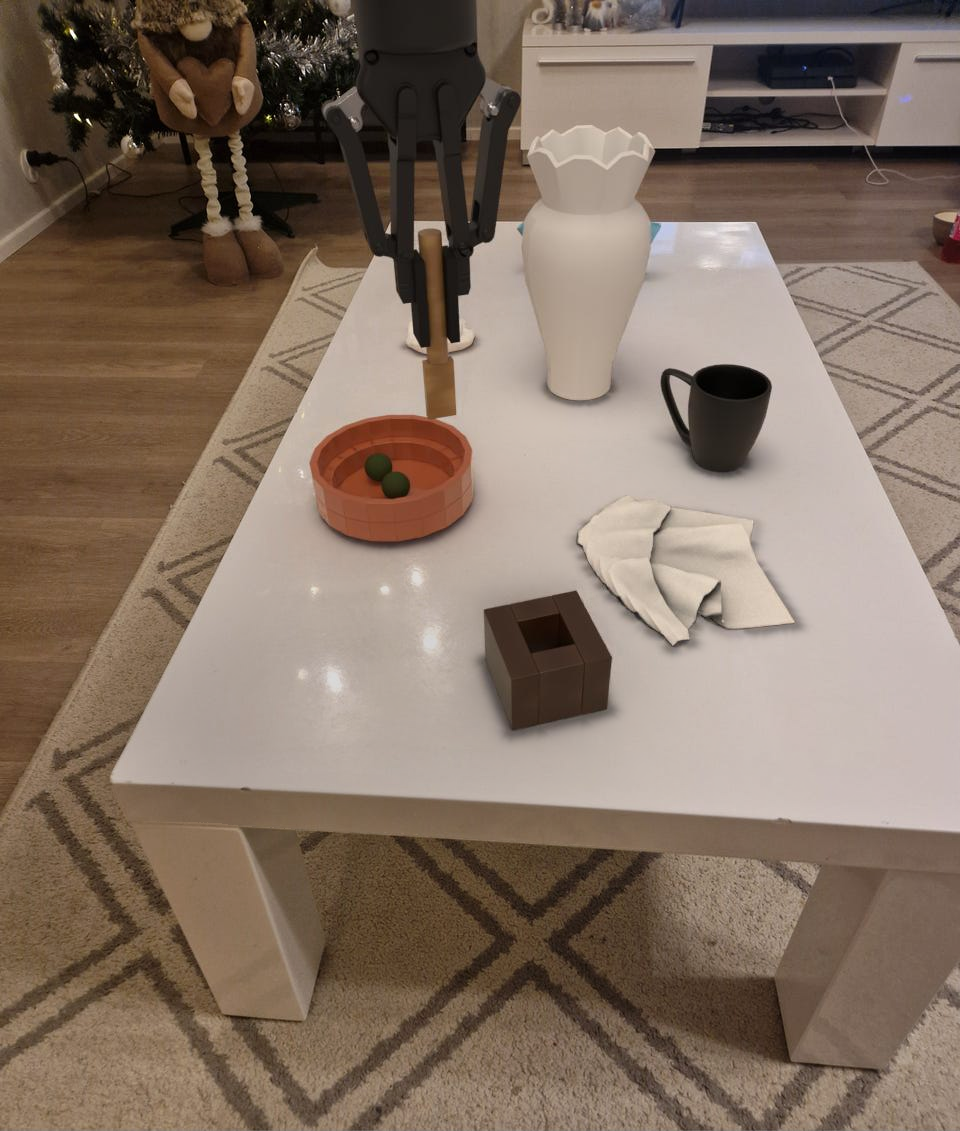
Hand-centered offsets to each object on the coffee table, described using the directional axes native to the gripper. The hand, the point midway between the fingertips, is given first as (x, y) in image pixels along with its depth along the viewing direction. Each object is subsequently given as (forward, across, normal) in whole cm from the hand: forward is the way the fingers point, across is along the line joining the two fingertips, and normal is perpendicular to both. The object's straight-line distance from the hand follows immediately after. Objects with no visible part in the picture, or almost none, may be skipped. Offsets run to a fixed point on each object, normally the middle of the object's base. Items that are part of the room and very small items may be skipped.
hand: (436, 337), depth 67 cm
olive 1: (+22, +4, -17) cm, 28 cm away
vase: (+24, -25, -31) cm, 46 cm away
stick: (+7, 0, 0) cm, 7 cm away
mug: (+24, -32, -12) cm, 42 cm away
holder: (+24, -4, +16) cm, 29 cm away
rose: (+24, -11, -49) cm, 56 cm away
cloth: (+24, -21, +6) cm, 33 cm away
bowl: (+24, +3, -14) cm, 28 cm away
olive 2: (+22, +3, -13) cm, 26 cm away
